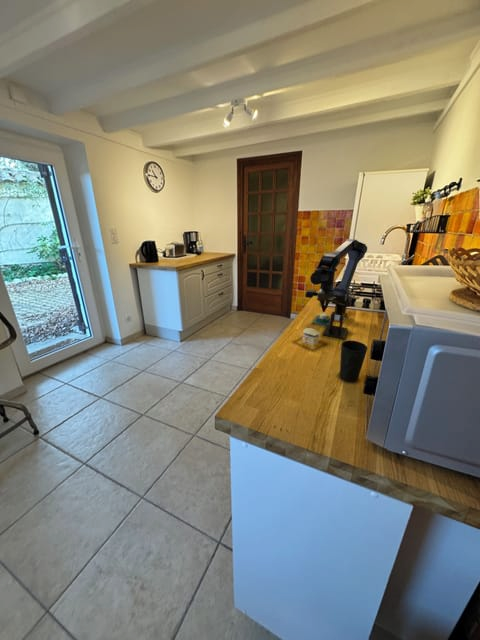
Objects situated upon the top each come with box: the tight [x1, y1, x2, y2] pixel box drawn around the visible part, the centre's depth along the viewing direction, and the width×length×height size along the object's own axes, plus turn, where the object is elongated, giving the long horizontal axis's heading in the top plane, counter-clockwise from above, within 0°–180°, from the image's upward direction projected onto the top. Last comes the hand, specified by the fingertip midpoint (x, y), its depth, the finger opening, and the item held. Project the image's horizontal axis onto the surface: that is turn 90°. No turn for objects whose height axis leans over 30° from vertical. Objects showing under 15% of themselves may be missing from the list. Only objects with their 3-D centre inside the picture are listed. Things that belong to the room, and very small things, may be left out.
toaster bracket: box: [322, 311, 349, 341], centre depth 115 cm, size 12×9×10 cm
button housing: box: [312, 314, 331, 327], centre depth 129 cm, size 10×8×3 cm
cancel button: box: [319, 312, 328, 319], centre depth 129 cm, size 4×4×2 cm
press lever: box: [334, 315, 341, 323], centre depth 119 cm, size 13×3×3 cm, turn 152°
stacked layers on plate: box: [301, 327, 321, 347], centre depth 108 cm, size 10×9×6 cm
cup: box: [339, 340, 368, 383], centre depth 83 cm, size 8×8×12 cm
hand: (323, 311), depth 128 cm, fingers closed
